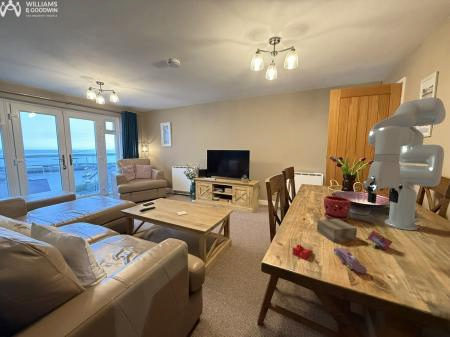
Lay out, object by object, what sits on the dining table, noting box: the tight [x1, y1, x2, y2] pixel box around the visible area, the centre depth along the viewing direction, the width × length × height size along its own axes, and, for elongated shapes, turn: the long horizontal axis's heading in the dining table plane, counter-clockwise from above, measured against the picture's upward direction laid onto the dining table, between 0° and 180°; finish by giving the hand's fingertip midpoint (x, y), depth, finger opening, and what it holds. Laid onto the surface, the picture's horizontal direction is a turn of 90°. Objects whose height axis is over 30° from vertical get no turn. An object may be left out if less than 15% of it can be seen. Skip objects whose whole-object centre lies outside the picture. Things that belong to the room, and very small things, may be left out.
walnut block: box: [316, 218, 358, 244], centre depth 87 cm, size 11×11×6 cm
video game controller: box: [333, 246, 368, 275], centre depth 64 cm, size 10×5×7 cm, turn 5°
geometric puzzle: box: [367, 230, 393, 251], centre depth 76 cm, size 7×7×8 cm
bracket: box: [292, 244, 314, 261], centre depth 72 cm, size 6×5×3 cm
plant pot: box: [323, 195, 352, 222], centre depth 108 cm, size 13×13×12 cm
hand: (382, 202), depth 75 cm, fingers open, 9 cm apart
